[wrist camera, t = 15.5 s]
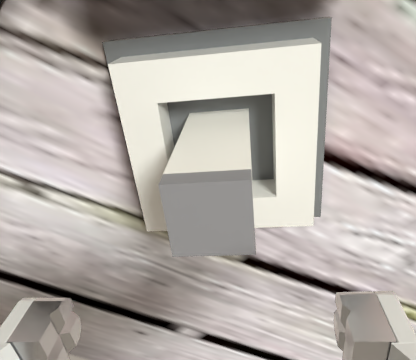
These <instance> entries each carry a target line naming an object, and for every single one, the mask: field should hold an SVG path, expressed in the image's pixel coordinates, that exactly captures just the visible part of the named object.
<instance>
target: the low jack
mask: <svg viewBox="0 0 416 360" xmlns="http://www.w3.org/2000/svg"><path fill="white" fill-rule="evenodd" d="M331 18H332V17H322V18H313V19H304V20H295V21H285V22H276V23H267V24H258V25H249V26H239V27H230V28H221V29H212V30H203V31H193V32H184V33H175V34H166V35H156V36H147V37H138V38H129V39H120V40H110V41H104V42H102V43H103V47H104V51H105V55H106V60H107V64H108V68H109V72H110V77H111V81H112V85H113V89H114V94H115V98H116V102H117V106H118V111H119V115H120V119H121V124H122V128H123V132H124V136H125V141H126V145H127V149H128V153H129V158H130V162H131V166H132V170H133V175H134V179H135V183H136V187H137V192H138V196H139V200H140V204H141V209H142V213H143V217H144V222H145V225H146V229H147V231H167V226H166V221H165V216H164V211H163V206H162V201H161V196H160V191H159V186H158V184H159V182H160V180H161V177H162V175H163V173H164V171H165V168H166V166H167V164H168V161H169V159H170V157H171V155H172V152H173V150H174V148H175V145H176V143H177V141H178V139H179V136H180V134H181V132H182V129H183V127H184V125H185V122H186V120H187V118H188V116H189V113H197V112H210V111H222V110H235V109H247V108H249V127H250V145H251V163H252V184H253V205H254V225H255V228H264V227H294V226H313V223H314V217H321V199H322V181H323V163H324V145H325V127H326V109H327V91H328V73H329V55H330V37H331Z"/></svg>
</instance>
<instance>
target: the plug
mask: <svg viewBox="0 0 416 360" xmlns="http://www.w3.org/2000/svg"><path fill="white" fill-rule="evenodd" d="M158 186H159V191H160V196H161V201H162V206H163V211H164V216H165V221H166V226H167V231H168V236H169V241H170V246H171V251H172V256H173V257H181V256H222V255H256V246H255V225H254V205H253V184H252V163H251V145H250V127H249V108H247V109H235V110H222V111H210V112H197V113H189V116H188V118H187V120H186V122H185V125H184V127H183V129H182V132H181V134H180V136H179V139H178V141H177V143H176V145H175V148H174V150H173V152H172V155H171V157H170V159H169V161H168V164H167V166H166V168H165V171H164V173H163V175H162V177H161V180H160V182H159V184H158Z"/></svg>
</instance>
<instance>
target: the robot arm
mask: <svg viewBox="0 0 416 360" xmlns="http://www.w3.org/2000/svg"><path fill="white" fill-rule="evenodd" d="M335 303H336V307H337V310H336V311H335V312H334V331H335V336H336V341H337V345H338V347H339V348H340V349H341V350H342V351H343V356H342V360H416V333H415V331H414V329H413V327H412V325H411V323H410V321H409V319H408V317H407V316H406V314H405V312H404V310H403V308H402V306H401V304H400V302H399V300H398V298H397V296H396V294H395V293H394V292H393V291H374V292H372V291H366V292H337V293H336V296H335ZM73 307H74V304H73V302H72V300H71V298H23V299H21V300H20V301H18V303H17V304H16V306H15V307H14V308H13V310H12V311H11V313H10V314H9V316H8V317H7V318H6V320H5V321H4V323H3V324H2V325H1V327H0V360H70V357H69V352H70V351H71V350H72V349H74V348H75V347H76V346H77V343H78V341H79V339H80V334H81V328H82V327H81V320H80V318H79V315H77V314H76V313H75V312H73V311H72V309H73Z"/></svg>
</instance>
